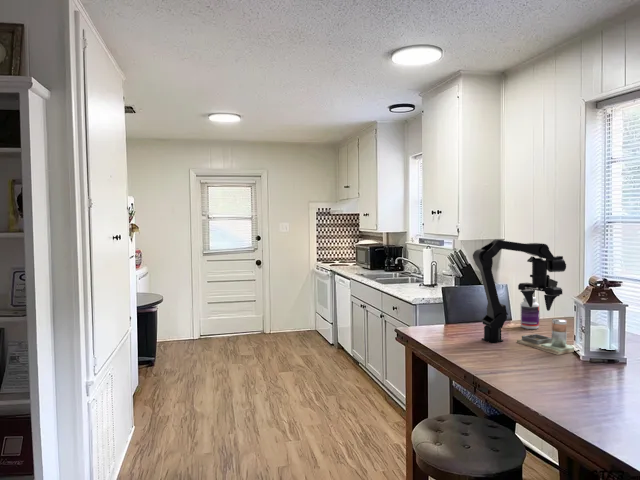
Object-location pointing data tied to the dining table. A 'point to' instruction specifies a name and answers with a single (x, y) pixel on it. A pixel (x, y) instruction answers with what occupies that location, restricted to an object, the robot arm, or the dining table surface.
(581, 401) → the dining table surface
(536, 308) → the pill bottle
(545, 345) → the pocket board
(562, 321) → the steel tin
